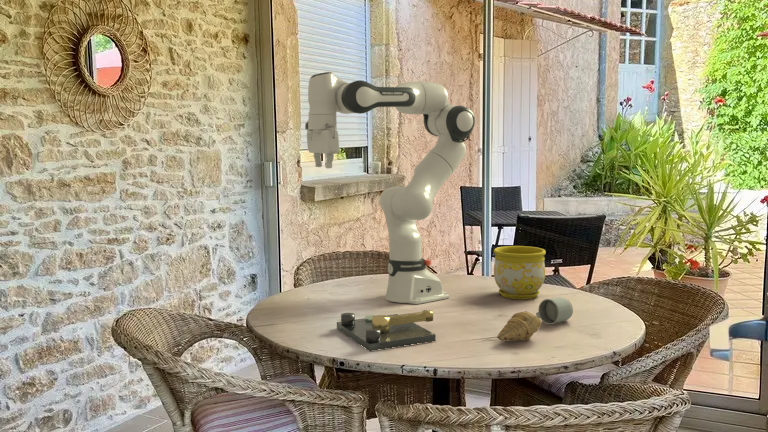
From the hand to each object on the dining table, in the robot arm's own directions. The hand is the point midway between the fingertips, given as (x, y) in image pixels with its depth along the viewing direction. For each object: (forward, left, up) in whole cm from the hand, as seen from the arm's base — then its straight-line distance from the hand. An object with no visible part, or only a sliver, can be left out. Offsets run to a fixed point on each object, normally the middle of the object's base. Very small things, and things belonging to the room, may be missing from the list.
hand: (323, 167), depth 218 cm
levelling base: (-5, +34, -47) cm, 58 cm away
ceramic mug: (-57, +44, -47) cm, 86 cm away
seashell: (-35, +56, -47) cm, 81 cm away
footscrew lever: (-10, +36, -44) cm, 58 cm away
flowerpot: (-68, +12, -47) cm, 84 cm away
